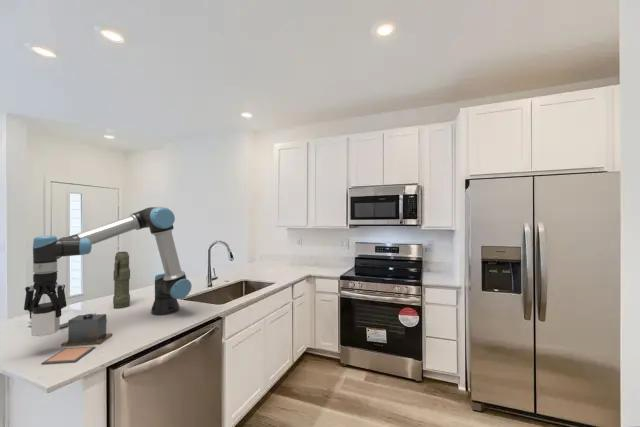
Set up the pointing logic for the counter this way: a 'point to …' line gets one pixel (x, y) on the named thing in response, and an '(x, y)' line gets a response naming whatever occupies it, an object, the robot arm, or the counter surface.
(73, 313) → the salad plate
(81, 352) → the mat
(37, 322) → the jar
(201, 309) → the counter surface
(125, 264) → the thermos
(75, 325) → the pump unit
